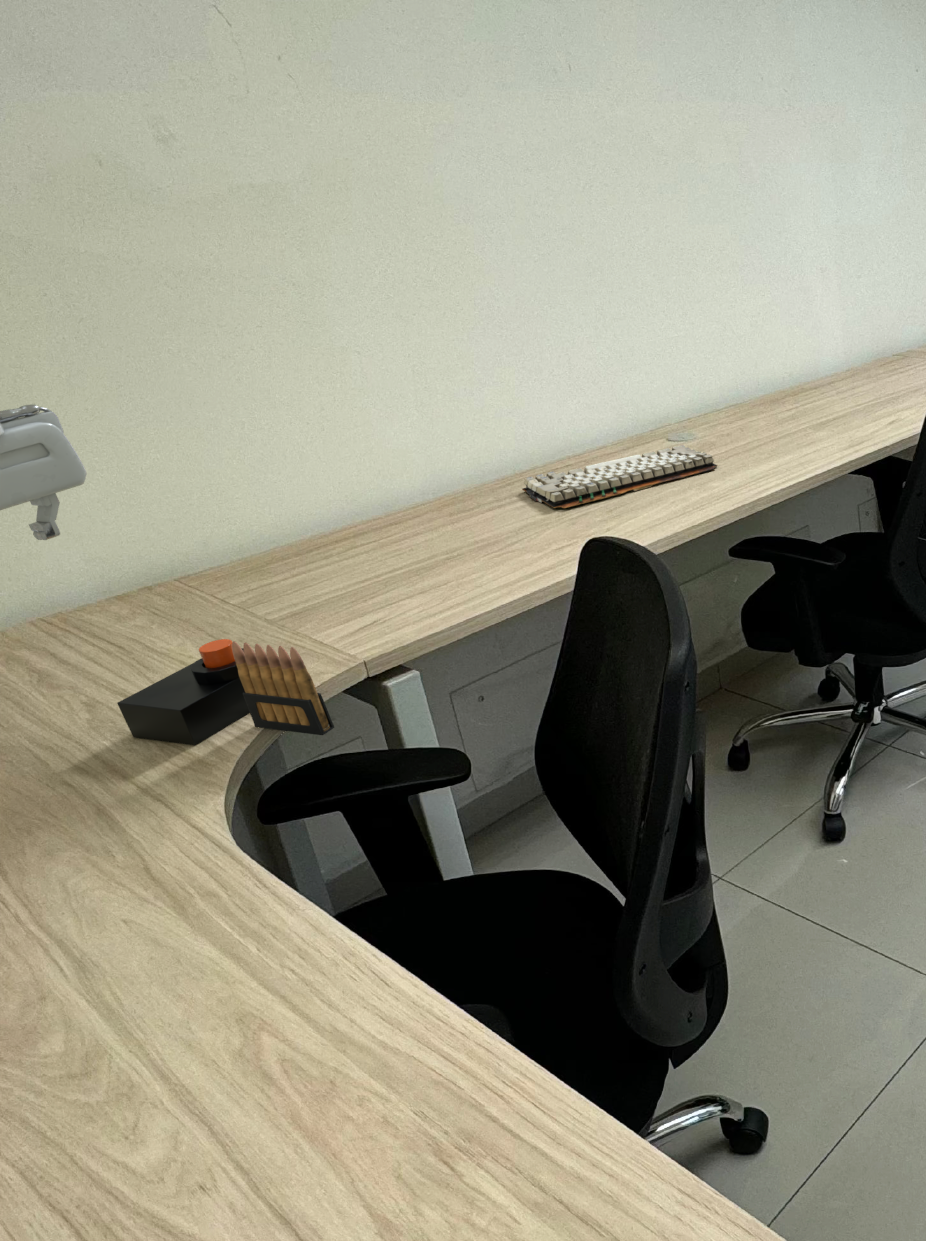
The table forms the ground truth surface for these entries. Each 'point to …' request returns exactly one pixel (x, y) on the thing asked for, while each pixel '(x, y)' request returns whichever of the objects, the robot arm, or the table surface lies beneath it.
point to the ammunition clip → (280, 690)
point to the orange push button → (217, 653)
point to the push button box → (187, 705)
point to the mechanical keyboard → (616, 476)
